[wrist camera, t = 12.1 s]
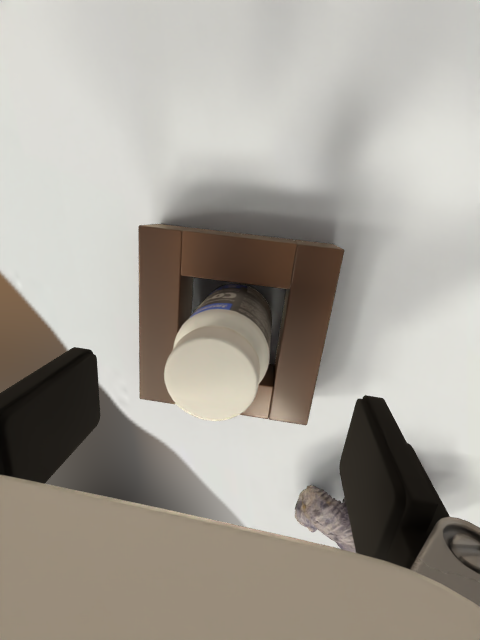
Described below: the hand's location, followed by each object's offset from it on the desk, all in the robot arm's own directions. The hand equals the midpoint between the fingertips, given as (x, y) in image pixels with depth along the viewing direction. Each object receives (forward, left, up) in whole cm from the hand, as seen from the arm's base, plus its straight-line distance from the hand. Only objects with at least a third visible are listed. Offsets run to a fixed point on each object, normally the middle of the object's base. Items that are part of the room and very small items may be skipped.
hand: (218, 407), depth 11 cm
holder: (+1, 0, -10) cm, 10 cm away
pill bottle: (+1, 0, -10) cm, 10 cm away
